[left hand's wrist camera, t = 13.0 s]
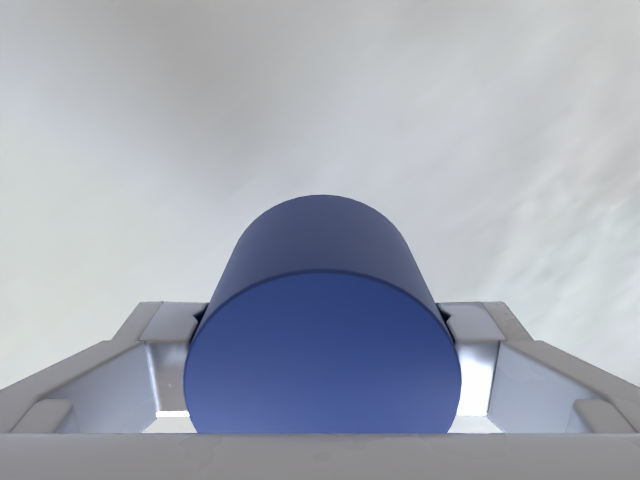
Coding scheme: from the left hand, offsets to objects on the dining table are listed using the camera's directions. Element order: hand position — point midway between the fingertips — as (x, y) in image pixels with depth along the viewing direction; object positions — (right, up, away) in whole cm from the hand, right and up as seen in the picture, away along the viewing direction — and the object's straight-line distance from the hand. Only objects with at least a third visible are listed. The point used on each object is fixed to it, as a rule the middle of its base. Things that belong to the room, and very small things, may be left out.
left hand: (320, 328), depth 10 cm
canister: (0, +1, +2) cm, 2 cm away
